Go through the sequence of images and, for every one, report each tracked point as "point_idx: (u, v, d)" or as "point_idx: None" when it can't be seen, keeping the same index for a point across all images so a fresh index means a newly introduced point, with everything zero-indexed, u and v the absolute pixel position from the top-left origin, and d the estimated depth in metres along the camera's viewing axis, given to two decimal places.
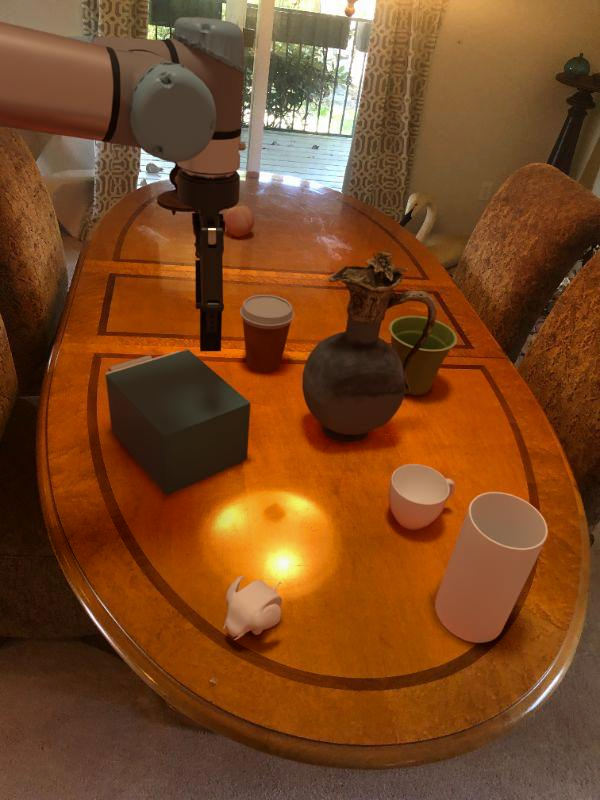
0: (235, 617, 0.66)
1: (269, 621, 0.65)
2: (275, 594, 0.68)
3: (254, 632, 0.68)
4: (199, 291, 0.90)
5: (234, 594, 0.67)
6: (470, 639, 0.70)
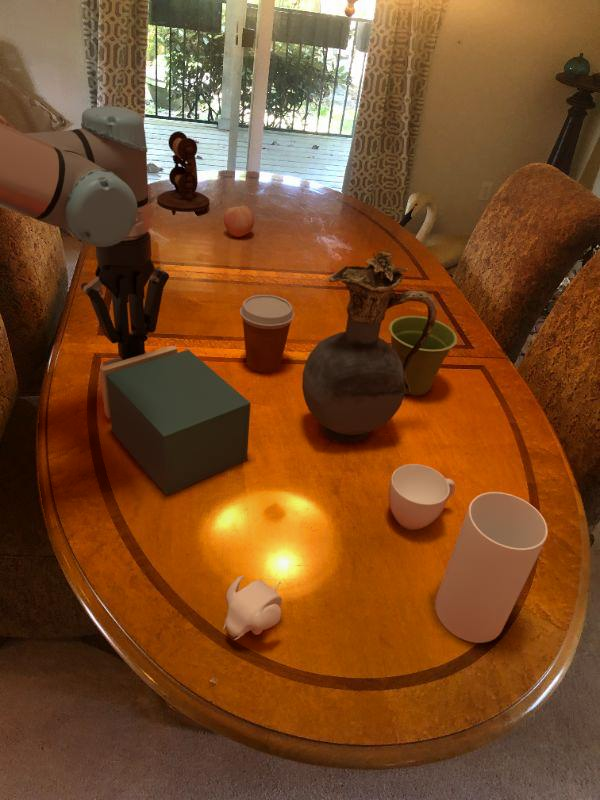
0: (235, 617, 0.66)
1: (269, 621, 0.65)
2: (275, 594, 0.68)
3: (254, 632, 0.68)
4: None
5: (234, 594, 0.67)
6: (470, 639, 0.70)
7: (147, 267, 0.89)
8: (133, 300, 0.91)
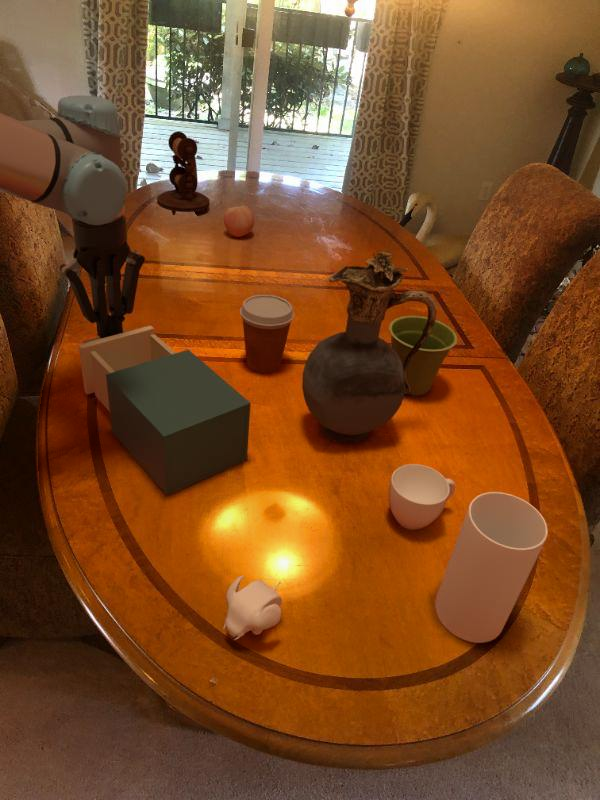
0: (235, 617, 0.66)
1: (269, 621, 0.65)
2: (275, 594, 0.68)
3: (254, 632, 0.68)
4: None
5: (234, 594, 0.67)
6: (470, 639, 0.70)
7: (123, 250, 0.93)
8: (110, 281, 0.96)
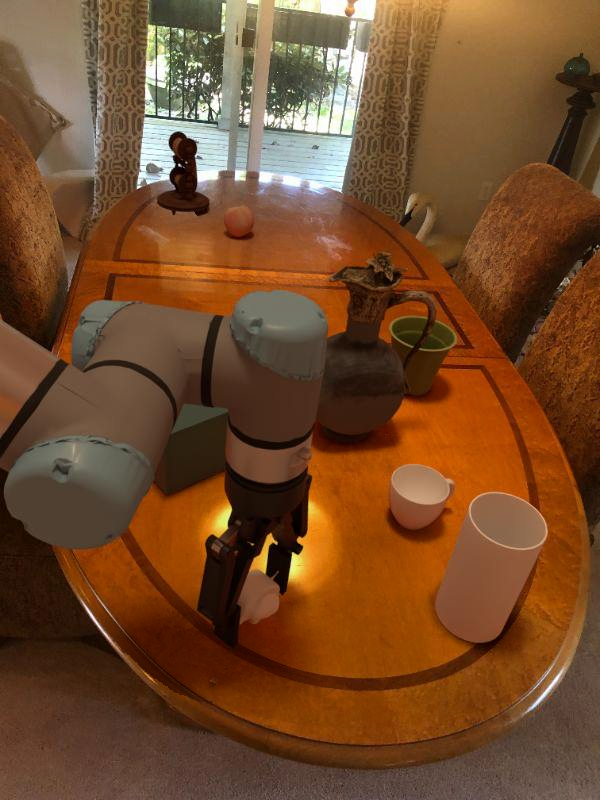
0: None
1: (267, 610, 0.64)
2: (273, 583, 0.67)
3: (252, 622, 0.67)
4: (269, 575, 0.71)
5: None
6: (470, 639, 0.70)
7: None
8: (277, 526, 0.63)
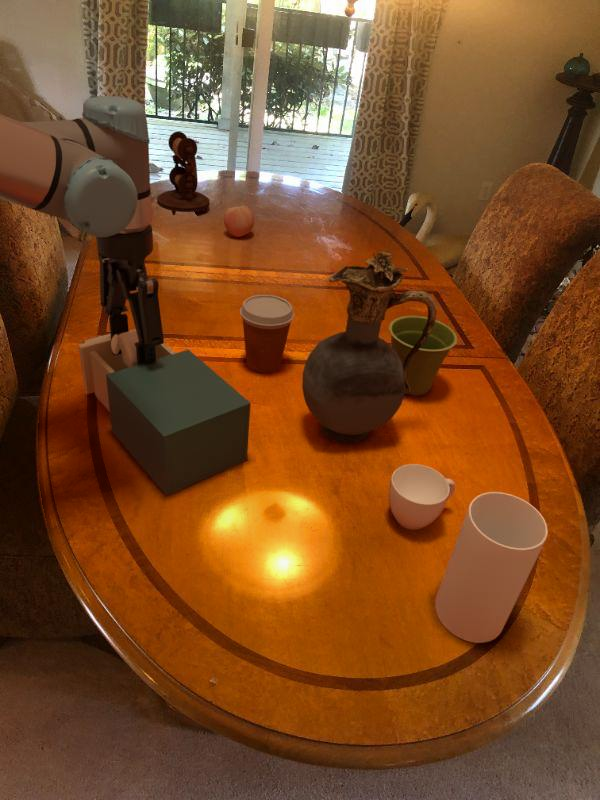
0: None
1: (111, 342, 0.94)
2: (129, 347, 0.93)
3: None
4: None
5: None
6: (470, 639, 0.70)
7: (128, 271, 0.85)
8: None
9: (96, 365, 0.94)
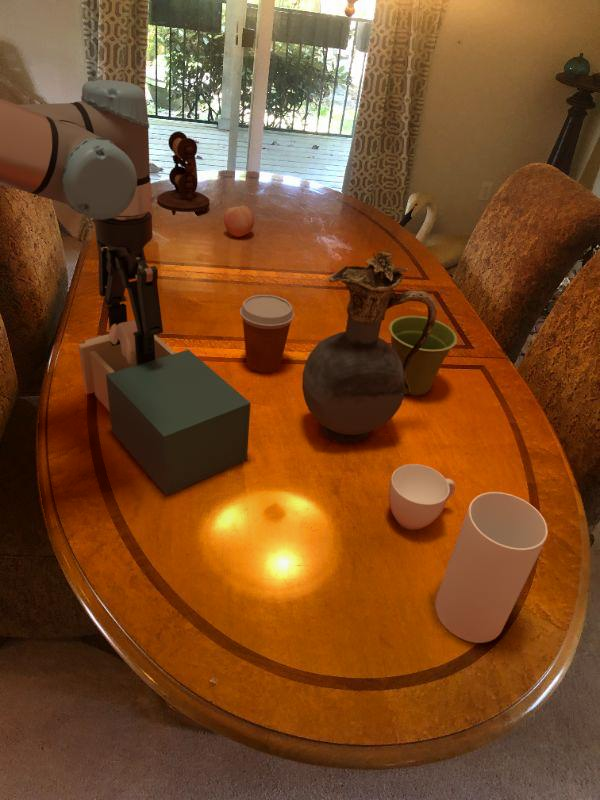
0: None
1: None
2: (128, 337, 0.91)
3: None
4: None
5: None
6: (470, 639, 0.70)
7: (127, 259, 0.83)
8: None
9: (96, 365, 0.94)
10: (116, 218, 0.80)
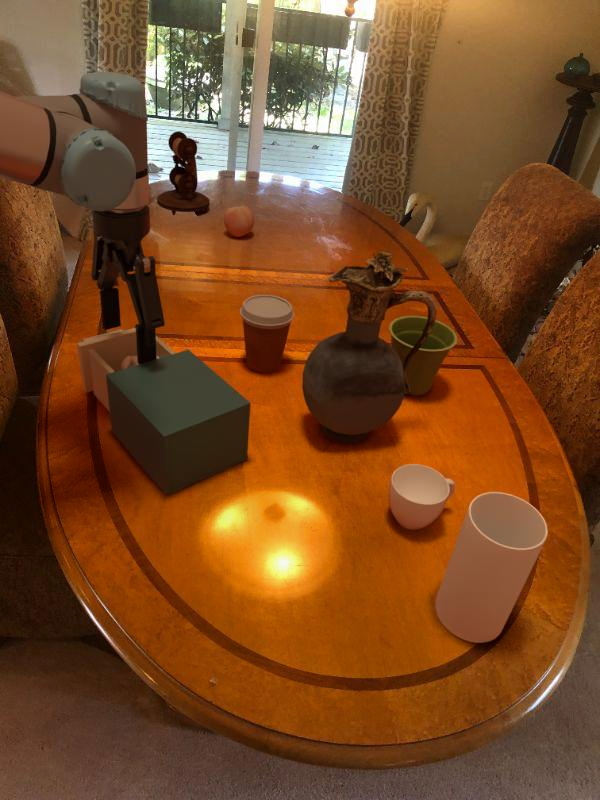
0: None
1: (122, 362, 0.96)
2: None
3: None
4: None
5: None
6: (470, 639, 0.70)
7: (125, 252, 0.84)
8: None
9: (95, 363, 0.94)
10: (114, 211, 0.80)
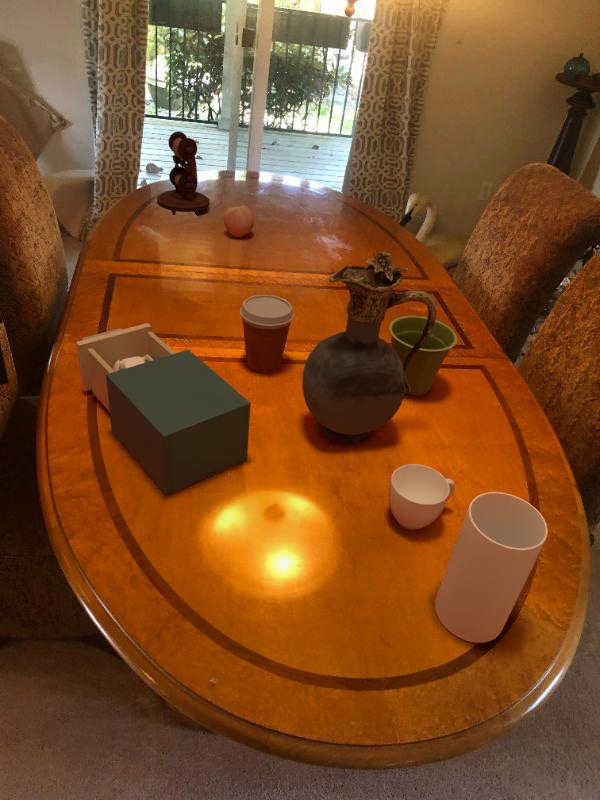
0: None
1: None
2: None
3: None
4: None
5: (142, 357, 0.99)
6: (470, 639, 0.70)
7: None
8: None
9: (93, 362, 0.95)
10: None
